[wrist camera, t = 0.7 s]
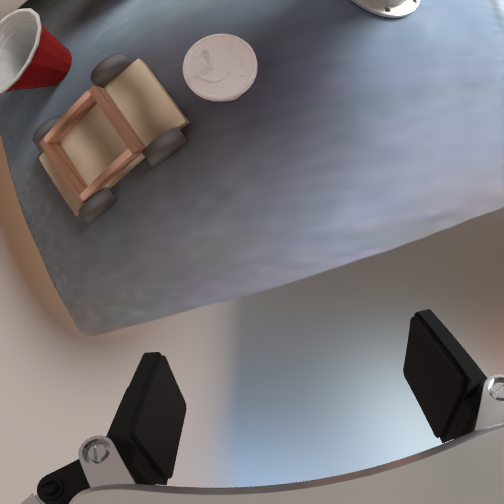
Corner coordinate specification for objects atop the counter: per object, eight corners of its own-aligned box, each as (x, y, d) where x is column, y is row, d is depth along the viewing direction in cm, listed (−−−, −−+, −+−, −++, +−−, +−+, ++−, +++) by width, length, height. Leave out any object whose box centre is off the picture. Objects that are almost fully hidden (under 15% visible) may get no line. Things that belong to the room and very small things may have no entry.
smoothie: (192, 73, 30) (157, 33, 17) (244, 53, 29) (240, 2, 16) (211, 120, 32) (185, 104, 19) (264, 101, 31) (272, 72, 18)
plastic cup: (101, 61, 29) (49, 38, 18) (46, 117, 31) (-13, 117, 20) (70, 17, 26) (22, -9, 15) (21, 70, 28) (-34, 62, 17)
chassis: (138, 53, 29) (121, 41, 24) (198, 134, 33) (189, 132, 28) (43, 147, 32) (19, 149, 27) (92, 223, 36) (72, 235, 31)
